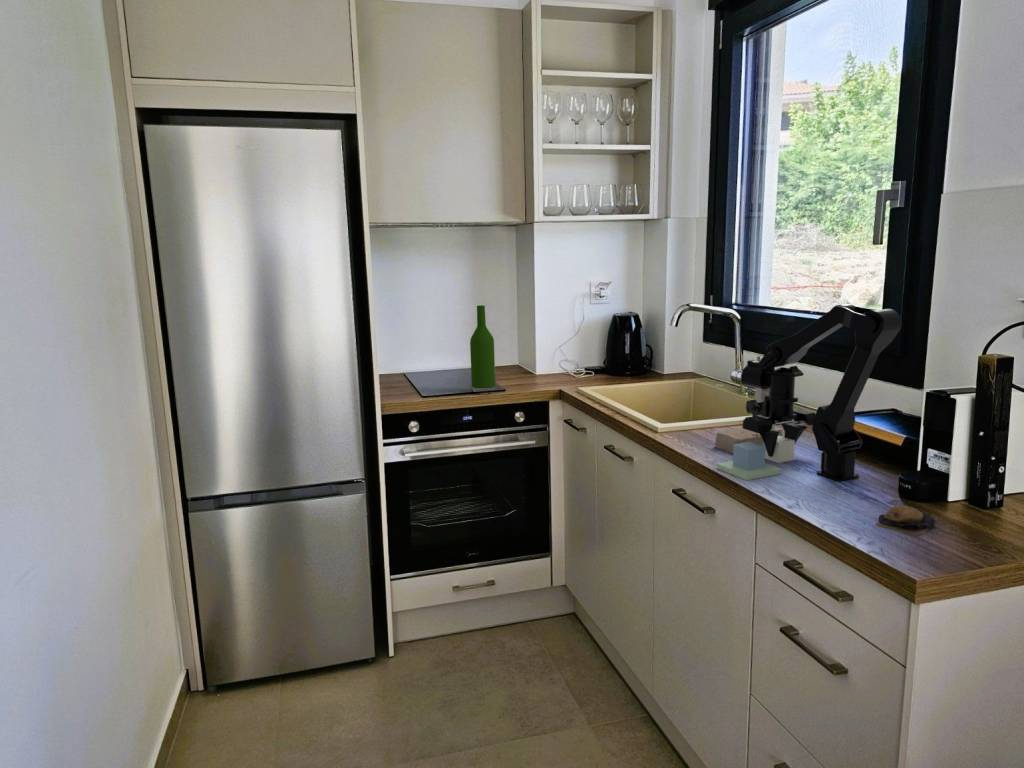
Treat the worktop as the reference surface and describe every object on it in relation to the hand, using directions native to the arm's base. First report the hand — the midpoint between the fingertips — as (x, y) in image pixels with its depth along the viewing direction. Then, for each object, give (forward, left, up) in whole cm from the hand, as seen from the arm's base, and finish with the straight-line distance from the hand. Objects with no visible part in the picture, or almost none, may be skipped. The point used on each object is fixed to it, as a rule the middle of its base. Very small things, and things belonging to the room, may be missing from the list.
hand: (778, 454), depth 173 cm
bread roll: (-42, +9, -2) cm, 43 cm away
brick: (+13, -2, -2) cm, 13 cm away
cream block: (0, 0, -1) cm, 1 cm away
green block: (-4, +13, -1) cm, 14 cm away
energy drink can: (+23, -17, -1) cm, 29 cm away
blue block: (-4, +13, 0) cm, 14 cm away
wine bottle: (+115, +33, -1) cm, 120 cm away
